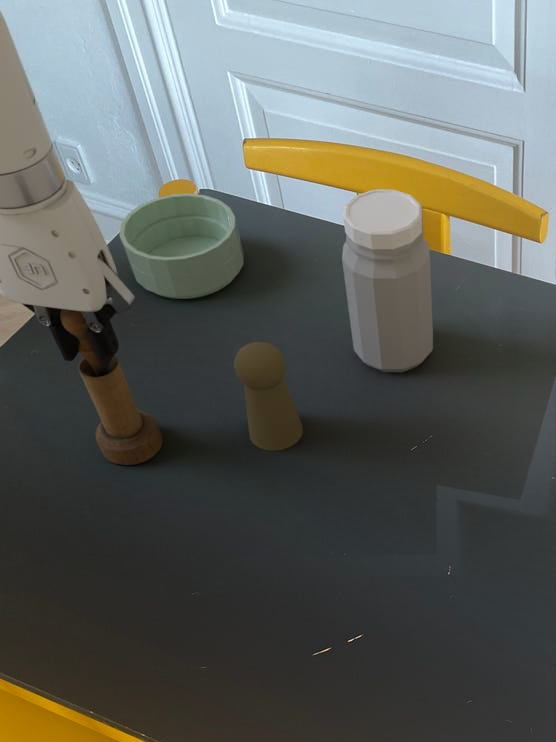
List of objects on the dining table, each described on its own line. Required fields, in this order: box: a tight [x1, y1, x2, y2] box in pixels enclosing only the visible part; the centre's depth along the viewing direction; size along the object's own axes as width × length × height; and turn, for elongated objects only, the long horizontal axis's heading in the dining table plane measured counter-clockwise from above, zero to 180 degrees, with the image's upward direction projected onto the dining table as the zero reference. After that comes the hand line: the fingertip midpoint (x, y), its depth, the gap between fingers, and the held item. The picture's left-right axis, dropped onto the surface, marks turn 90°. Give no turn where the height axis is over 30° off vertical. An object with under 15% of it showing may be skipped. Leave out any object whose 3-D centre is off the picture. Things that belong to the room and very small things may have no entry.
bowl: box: [119, 193, 245, 300], centre depth 114 cm, size 14×14×6 cm
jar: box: [341, 189, 434, 373], centre depth 100 cm, size 10×10×18 cm
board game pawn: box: [233, 341, 304, 452], centre depth 96 cm, size 6×6×11 cm
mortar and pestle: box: [60, 309, 163, 466], centre depth 91 cm, size 7×6×18 cm
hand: (92, 352), depth 88 cm, fingers closed on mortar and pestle, 3 cm apart
